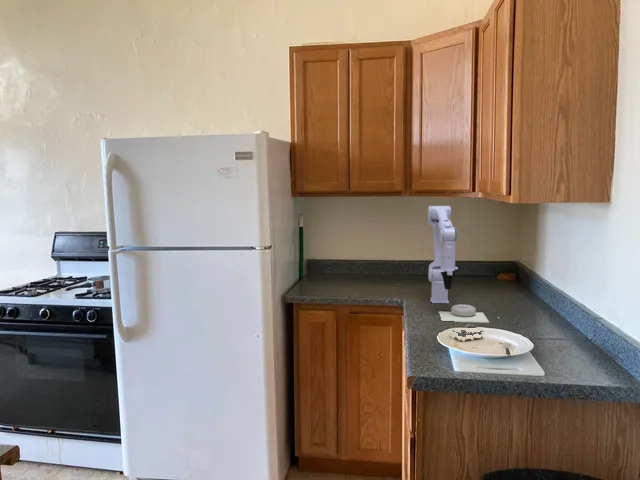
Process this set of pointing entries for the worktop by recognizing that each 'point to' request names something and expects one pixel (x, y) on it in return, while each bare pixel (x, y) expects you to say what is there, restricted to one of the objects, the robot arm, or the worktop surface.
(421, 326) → the worktop surface
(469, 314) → the donut
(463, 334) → the egg carton
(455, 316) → the mat
